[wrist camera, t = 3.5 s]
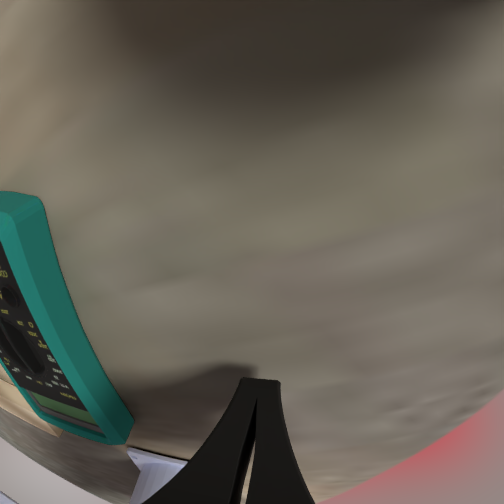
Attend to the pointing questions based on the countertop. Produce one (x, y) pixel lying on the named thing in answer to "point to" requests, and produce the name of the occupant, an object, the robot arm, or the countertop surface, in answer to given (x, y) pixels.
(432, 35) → the countertop surface
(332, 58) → the countertop surface
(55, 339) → the digital multimeter
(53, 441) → the countertop surface
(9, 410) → the notched board
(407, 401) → the countertop surface
